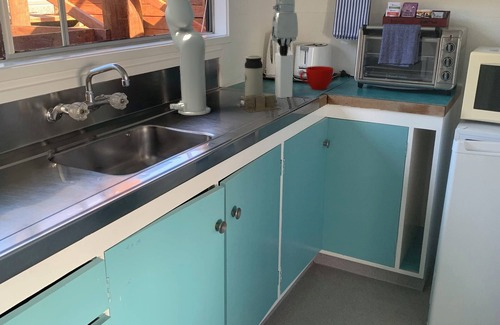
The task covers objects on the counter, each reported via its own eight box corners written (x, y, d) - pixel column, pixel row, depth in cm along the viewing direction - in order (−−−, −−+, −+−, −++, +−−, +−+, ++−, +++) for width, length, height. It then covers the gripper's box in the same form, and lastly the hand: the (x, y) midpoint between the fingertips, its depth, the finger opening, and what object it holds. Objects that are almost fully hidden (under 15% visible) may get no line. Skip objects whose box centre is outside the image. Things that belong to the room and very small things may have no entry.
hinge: (249, 112, 199) (249, 100, 197) (236, 106, 210) (235, 94, 208) (280, 108, 204) (280, 96, 203) (266, 102, 215) (266, 91, 214)
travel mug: (263, 94, 231) (263, 55, 225) (261, 98, 224) (261, 57, 218) (246, 94, 232) (245, 55, 226) (244, 98, 224) (243, 57, 219)
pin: (243, 108, 202) (243, 100, 201) (239, 106, 205) (239, 98, 204) (277, 104, 209) (277, 96, 208) (274, 102, 212) (274, 95, 210)
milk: (274, 95, 229) (274, 46, 222) (286, 94, 231) (287, 45, 224) (280, 98, 224) (280, 47, 217) (292, 97, 226) (293, 47, 219)
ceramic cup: (293, 88, 245) (293, 67, 242) (322, 85, 252) (323, 65, 249) (307, 93, 234) (307, 71, 231) (337, 89, 241) (338, 68, 238)
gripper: (272, 9, 195) (271, 57, 200) (306, 9, 201) (303, 56, 206) (264, 8, 201) (263, 55, 207) (296, 8, 207) (294, 53, 213)
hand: (283, 55), depth 207 cm, fingers closed
